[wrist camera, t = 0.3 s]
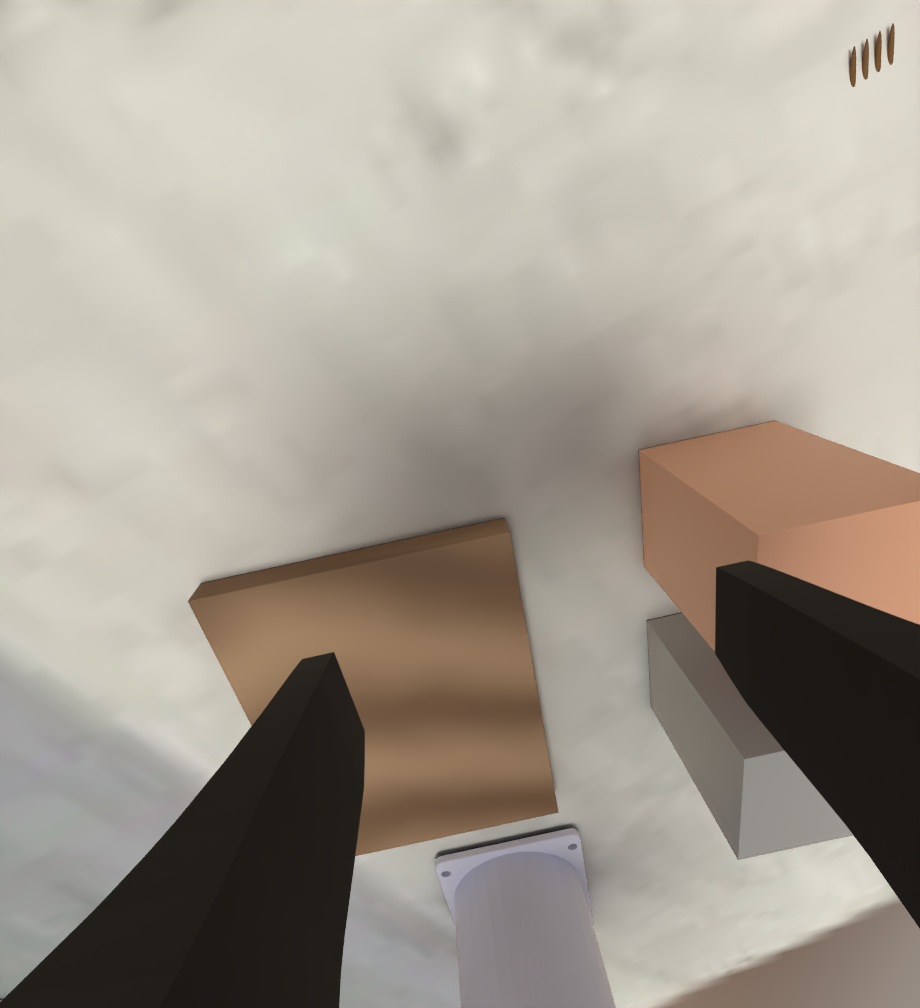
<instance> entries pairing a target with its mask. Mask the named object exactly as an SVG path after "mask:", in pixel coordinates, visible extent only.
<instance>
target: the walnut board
mask: <svg viewBox="0 0 920 1008" xmlns="http://www.w3.org/2000/svg"><path fill="white" fill-rule="evenodd" d="M188 602H189V604H190V606H191V608H192V610H193V612H194V614H195V616H196V618H197V620H198V622H199V624H200V626H201V628H202V630H203V632H204V634H205V636H206V638H207V640H208V641H209V643H210V645H211V647H212V649H213V651H214V653H215V655H216V657H217V659H218V661H219V663H220V665H221V667H222V669H223V671H224V673H225V675H226V677H227V679H228V681H229V682H230V684H231V686H232V688H233V690H234V692H235V694H236V696H237V698H238V700H239V702H240V704H241V706H242V708H243V710H244V712H245V714H246V716H247V718H248V720H249V721H250V723H251V725H253V724H254V722H255V721H256V720H257V719H258V717H259V716H260V715H261V713H262V712H263V710H264V709H265V708H266V706H267V705H268V704H269V702H270V701H271V700H272V698H273V697H274V696H275V694H276V693H277V691H278V690H279V689H280V687H281V686H282V685H283V683H284V682H285V681H286V679H287V678H288V677H289V675H290V674H291V672H292V671H293V670H294V669H295V667H296V666H297V665H298V663H299V662H300V661H301V660H302V659H305V658H309V657H314V656H318V655H323V654H327V653H332V652H334V653H335V656H336V658H337V661H338V663H339V666H340V669H341V671H342V674H343V676H344V679H345V681H346V684H347V686H348V689H349V692H350V694H351V697H352V699H353V702H354V704H355V707H356V709H357V712H358V715H359V717H360V720H361V722H362V725H363V727H364V730H365V771H364V792H363V800H362V808H361V816H360V824H359V831H358V839H357V846H356V854H355V856H358V855H363V854H367V853H372V852H376V851H381V850H386V849H390V848H395V847H400V846H404V845H409V844H414V843H418V842H423V841H428V840H432V839H437V838H442V837H446V836H451V835H456V834H460V833H465V832H470V831H474V830H479V829H483V828H488V827H493V826H497V825H502V824H507V823H511V822H516V821H521V820H525V819H530V818H535V817H539V816H544V815H549V814H553V813H558V807H557V802H556V796H555V790H554V784H553V778H552V773H551V767H550V761H549V755H548V750H547V744H546V738H545V732H544V727H543V721H542V715H541V709H540V703H539V698H538V692H537V686H536V680H535V675H534V669H533V663H532V657H531V652H530V646H529V640H528V634H527V628H526V623H525V617H524V611H523V605H522V600H521V594H520V588H519V582H518V577H517V571H516V565H515V559H514V553H513V548H512V542H511V536H510V531H509V529H508V526H507V524H506V521H505V519H504V518H503V519H498V520H493V521H489V522H484V523H480V524H475V525H470V526H466V527H461V528H456V529H452V530H447V531H442V532H438V533H433V534H428V535H424V536H419V537H414V538H410V539H405V540H400V541H396V542H391V543H386V544H382V545H377V546H373V547H368V548H363V549H359V550H354V551H349V552H345V553H340V554H335V555H331V556H326V557H321V558H317V559H312V560H307V561H303V562H298V563H293V564H289V565H284V566H279V567H275V568H270V569H265V570H261V571H256V572H252V573H247V574H242V575H238V576H233V577H228V578H224V579H219V580H214V581H210V582H205V583H201V584H200V585H199V587H198V588H197V589H196V591H195V592H194V594H193V595H192V596H191V598H190V599H189V601H188Z"/></svg>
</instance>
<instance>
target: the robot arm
mask: <svg viewBox="0 0 920 1008" xmlns="http://www.w3.org/2000/svg"><path fill="white" fill-rule="evenodd" d="M715 654H716V656H717V658H718V659H719V661H720V663H721V664H722V666H723V668H724V669H725V671H726V672H727V674H728V676H729V677H730V679H731V681H732V682H733V684H734V685H735V687H736V688H737V690H738V691H739V693H740V694H741V696H742V697H743V699H744V700H745V702H746V703H747V705H748V706H749V707H750V708H751V710H752V711H753V712H754V714H755V715H756V716H757V717H758V719H759V720H760V721H761V722H762V723H763V725H764V726H765V727H766V728H767V730H768V731H769V732H770V733H771V735H772V736H773V737H774V738H775V740H776V741H777V742H778V743H779V744H780V746H781V747H782V748H783V749H784V751H785V752H786V753H787V754H788V755H789V757H790V758H791V759H792V760H793V762H794V763H795V764H796V765H797V766H798V768H799V769H800V770H801V771H802V772H803V774H804V775H805V776H806V777H807V779H808V780H809V781H810V782H811V783H812V785H813V786H814V787H815V788H816V789H817V791H818V792H819V793H820V794H821V796H822V797H823V798H824V799H825V800H826V802H827V803H828V804H829V805H830V807H831V808H832V809H833V810H834V811H835V813H836V814H837V815H838V816H839V817H840V819H841V820H842V821H843V822H844V824H845V825H846V826H847V827H848V829H849V830H850V831H851V833H852V834H853V835H854V837H855V838H856V839H857V840H858V842H859V843H860V844H861V846H862V847H863V848H864V850H865V851H866V852H867V853H868V855H869V856H870V858H871V859H872V860H873V862H874V863H875V865H876V866H877V868H878V869H879V870H880V872H881V873H882V875H883V876H884V878H885V879H886V881H887V882H888V883H889V885H890V886H891V888H892V889H893V891H894V892H895V893H896V895H897V896H898V898H899V899H900V901H901V902H902V904H903V905H904V906H905V908H906V909H907V911H908V912H909V914H910V915H911V916H912V918H913V919H914V921H915V922H916V924H917V925H918V926H919V928H920V625H919V624H916V623H914V622H911V621H908V620H905V619H903V618H900V617H897V616H895V615H892V614H889V613H887V612H884V611H881V610H879V609H876V608H873V607H871V606H868V605H866V604H863V603H860V602H858V601H855V600H853V599H850V598H847V597H845V596H842V595H840V594H837V593H835V592H832V591H830V590H827V589H825V588H822V587H819V586H817V585H814V584H812V583H809V582H807V581H804V580H802V579H799V578H797V577H794V576H791V575H789V574H786V573H784V572H781V571H778V570H776V569H773V568H770V567H767V566H765V565H762V564H759V563H756V562H753V561H749V560H747V561H743V562H738V563H734V564H729V565H725V566H720V567H716V610H715ZM364 771H365V730H364V727H363V725H362V722H361V720H360V717H359V715H358V712H357V709H356V707H355V704H354V702H353V699H352V697H351V694H350V692H349V689H348V686H347V684H346V681H345V679H344V676H343V674H342V671H341V669H340V666H339V663H338V661H337V658H336V656H335V653H334V652H332V653H327V654H323V655H318V656H314V657H309V658H305V659H302V660H301V661H300V662H299V663H298V665H297V666H296V667H295V669H294V670H293V671H292V672H291V674H290V675H289V677H288V678H287V679H286V681H285V682H284V683H283V685H282V686H281V687H280V689H279V690H278V691H277V693H276V694H275V696H274V697H273V698H272V700H271V701H270V702H269V704H268V705H267V706H266V708H265V709H264V710H263V712H262V713H261V715H260V716H259V717H258V719H257V720H256V721H255V722H254V724H253V725H252V726H251V728H250V729H249V730H248V732H247V733H246V734H245V736H244V737H243V738H242V740H241V741H240V742H239V744H238V745H237V746H236V748H235V749H234V750H233V752H232V753H231V754H230V755H229V757H228V758H227V759H226V761H225V762H224V763H223V764H222V765H221V767H220V768H219V769H218V770H217V772H216V773H215V774H214V775H213V776H212V778H211V779H210V780H209V781H208V783H207V784H206V785H205V786H204V787H203V789H202V790H201V791H200V792H199V794H198V795H197V796H196V797H195V798H194V800H193V801H192V802H191V803H190V805H189V806H188V807H187V808H186V809H185V811H184V812H183V813H182V814H181V816H180V817H179V818H178V819H177V820H176V822H175V823H174V824H173V825H172V826H171V827H170V828H169V830H168V831H167V832H166V833H165V834H164V835H163V836H162V838H161V839H160V840H159V841H158V842H157V843H156V844H155V845H154V847H153V848H152V849H151V850H150V851H149V852H148V853H147V854H146V855H145V857H144V858H143V859H142V860H141V861H140V862H139V863H138V864H137V865H136V866H135V867H134V868H133V869H132V871H131V872H130V873H129V874H128V875H127V876H126V877H125V878H124V879H123V880H122V881H121V882H120V883H119V884H118V886H117V887H116V888H115V889H114V890H113V891H112V892H111V893H110V894H109V895H108V896H107V897H106V898H105V899H104V900H103V901H102V902H101V903H100V905H99V906H98V907H97V908H96V909H95V910H94V911H93V912H92V913H91V914H90V915H89V916H88V917H87V918H86V919H85V920H84V921H83V922H82V923H81V924H80V925H79V926H78V927H77V928H76V929H74V930H73V931H72V932H71V933H70V934H69V935H68V936H67V937H66V938H65V939H64V940H63V941H62V942H61V943H60V944H59V945H58V946H57V947H56V948H55V949H54V950H53V951H52V952H51V953H50V954H49V955H48V956H47V957H46V958H45V959H44V960H43V961H42V962H41V963H40V964H39V965H38V966H37V967H36V968H35V969H34V970H33V971H32V972H31V973H30V974H29V975H28V976H27V977H26V978H25V979H24V980H23V981H21V982H20V983H19V984H18V985H17V986H16V987H15V988H14V989H13V990H12V991H11V992H10V993H9V994H8V995H7V996H6V997H5V998H4V999H3V1000H2V1001H1V1002H0V1008H339V997H340V979H341V966H342V956H343V946H344V936H345V928H346V920H347V913H348V906H349V898H350V891H351V883H352V876H353V869H354V861H355V854H356V846H357V839H358V831H359V824H360V816H361V808H362V800H363V792H364ZM435 871H436V874H437V876H438V879H439V882H440V885H441V888H442V890H443V893H444V896H445V899H446V902H447V904H448V907H449V910H450V913H451V915H452V918H453V921H454V924H455V927H456V937H457V952H458V967H459V983H460V998H461V1008H616V1006H615V1003H614V999H613V996H612V992H611V988H610V985H609V981H608V978H607V974H606V971H605V967H604V964H603V960H602V956H601V953H600V949H599V946H598V942H597V939H596V935H595V932H594V928H593V918H592V912H591V905H590V898H589V892H588V885H587V878H586V872H585V865H584V858H583V851H582V845H581V838H580V835H579V832H578V830H576V829H573V828H569V829H564V830H560V831H555V832H550V833H546V834H541V835H536V836H532V837H527V838H522V839H518V840H513V841H508V842H504V843H499V844H495V845H490V846H485V847H481V848H476V849H471V850H467V851H462V852H457V853H453V854H448V855H443V856H440V857H438V858H437V859H436V860H435Z"/></svg>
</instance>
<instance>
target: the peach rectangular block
mask: <svg viewBox="0 0 920 1008" xmlns="http://www.w3.org/2000/svg"><path fill="white" fill-rule="evenodd" d="M639 463H640V484H641V505H642V526H643V548H644V567H645V568H646V570H647V571H648V572H649V573H650V574H651V576H652V577H653V578H654V579H655V580H656V582H657V583H658V584H659V585H660V586H661V588H662V589H663V590H664V591H665V592H666V594H667V595H668V596H669V597H670V598H671V600H672V601H673V602H674V603H675V604H676V606H677V607H678V608H679V609H680V611H681V612H682V613H683V614H684V615H685V617H686V618H687V619H688V620H689V621H690V623H691V624H692V625H693V626H694V627H695V629H696V630H697V631H698V632H699V633H700V635H701V636H702V637H703V638H704V639H705V641H706V642H707V643H708V644H709V645H710V647H711V648H712V649H713V650H714V651H715V610H716V567H720V566H725V565H729V564H734V563H738V562H743V561H747V560H749V561H753V562H756V563H759V564H762V565H765V566H767V567H770V568H773V569H776V570H778V571H781V572H784V573H786V574H789V575H791V576H794V577H797V578H799V579H802V580H804V581H807V582H809V583H812V584H814V585H817V586H819V587H822V588H825V589H827V590H830V591H832V592H835V593H837V594H840V595H842V596H845V597H847V598H850V599H853V600H855V601H858V602H860V603H863V604H866V605H868V606H871V607H873V608H876V609H879V610H881V611H884V612H887V613H889V614H892V615H895V616H897V617H900V618H903V619H905V620H908V621H911V622H914V623H916V624H919V625H920V473H917V472H914V471H912V470H909V469H906V468H903V467H901V466H898V465H895V464H892V463H890V462H887V461H884V460H881V459H879V458H876V457H873V456H870V455H868V454H865V453H862V452H859V451H857V450H854V449H851V448H848V447H846V446H843V445H840V444H837V443H835V442H832V441H829V440H826V439H824V438H821V437H818V436H815V435H813V434H810V433H807V432H804V431H802V430H799V429H796V428H793V427H791V426H788V425H785V424H782V423H780V422H777V421H772V422H767V423H762V424H758V425H753V426H748V427H744V428H739V429H734V430H730V431H725V432H720V433H716V434H711V435H706V436H702V437H697V438H692V439H688V440H683V441H679V442H674V443H669V444H665V445H660V446H655V447H651V448H646V449H641V450H639Z"/></svg>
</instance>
